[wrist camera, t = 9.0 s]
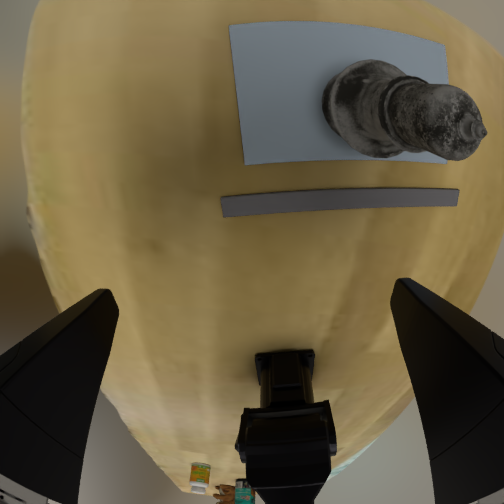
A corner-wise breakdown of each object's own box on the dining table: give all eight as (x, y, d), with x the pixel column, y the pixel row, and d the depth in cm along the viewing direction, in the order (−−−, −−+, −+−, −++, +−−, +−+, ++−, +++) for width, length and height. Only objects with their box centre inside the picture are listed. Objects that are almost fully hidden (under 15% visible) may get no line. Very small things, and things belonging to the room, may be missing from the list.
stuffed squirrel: (219, 483, 80) (217, 510, 68) (250, 487, 83) (249, 512, 71) (211, 485, 84) (209, 509, 73) (240, 489, 87) (239, 512, 76)
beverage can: (252, 481, 73) (251, 508, 63) (233, 480, 72) (232, 507, 62) (258, 479, 70) (257, 507, 59) (238, 477, 69) (237, 506, 59)
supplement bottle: (208, 463, 58) (205, 492, 50) (212, 467, 61) (209, 494, 52) (189, 461, 58) (186, 490, 50) (194, 465, 61) (191, 492, 53)
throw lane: (454, 204, 19) (457, 206, 18) (223, 215, 20) (223, 218, 20) (459, 51, 12) (462, 51, 11) (199, 31, 13) (197, 30, 13)
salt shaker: (401, 143, 16) (525, 211, 6) (325, 152, 17) (412, 236, 7) (389, 64, 13) (523, 57, 3) (308, 69, 14) (390, 23, 4)
